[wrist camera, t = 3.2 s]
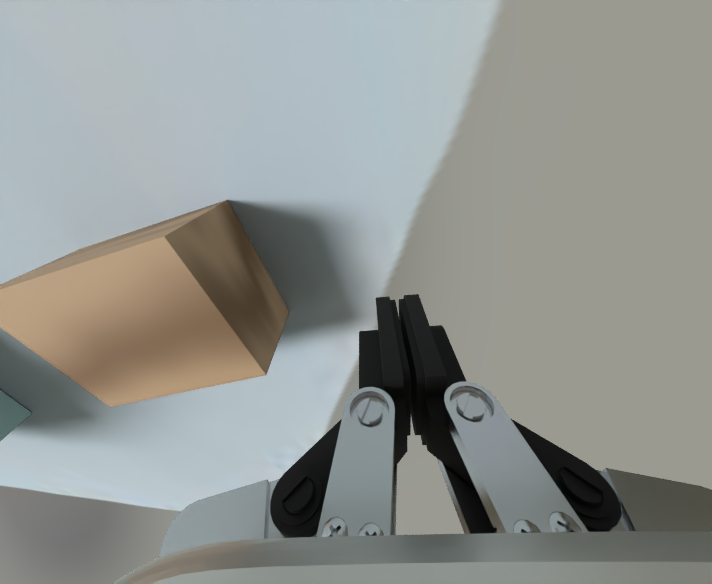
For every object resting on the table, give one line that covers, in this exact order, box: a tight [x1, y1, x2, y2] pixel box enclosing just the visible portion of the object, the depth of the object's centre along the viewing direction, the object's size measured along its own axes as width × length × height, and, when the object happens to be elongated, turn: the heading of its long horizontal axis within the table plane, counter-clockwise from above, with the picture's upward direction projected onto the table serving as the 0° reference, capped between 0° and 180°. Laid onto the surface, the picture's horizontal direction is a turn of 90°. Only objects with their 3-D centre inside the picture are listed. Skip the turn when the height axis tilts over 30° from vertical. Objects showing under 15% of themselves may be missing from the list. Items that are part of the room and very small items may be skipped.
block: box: [0, 200, 289, 407], centre depth 13 cm, size 7×9×5 cm
